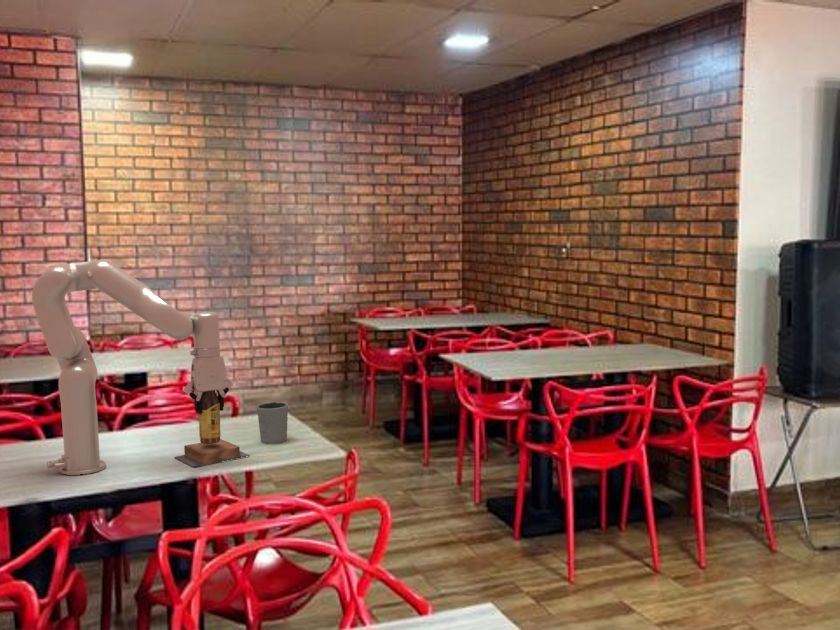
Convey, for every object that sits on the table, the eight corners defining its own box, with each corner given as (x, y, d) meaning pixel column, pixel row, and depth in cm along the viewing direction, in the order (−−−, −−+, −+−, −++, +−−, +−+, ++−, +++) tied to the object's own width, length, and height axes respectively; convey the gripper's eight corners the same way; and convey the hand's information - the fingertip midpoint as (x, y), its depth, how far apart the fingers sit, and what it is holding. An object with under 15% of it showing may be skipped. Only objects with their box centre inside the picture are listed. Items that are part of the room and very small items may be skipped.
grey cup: (291, 436, 275) (289, 401, 273) (287, 444, 265) (285, 407, 263) (260, 437, 274) (259, 402, 273) (255, 445, 264) (254, 408, 263)
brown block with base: (193, 468, 240) (193, 456, 239) (174, 458, 250) (174, 447, 250) (249, 456, 251) (249, 445, 250) (228, 447, 262) (228, 436, 261)
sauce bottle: (215, 445, 246) (212, 380, 244) (196, 444, 247) (193, 379, 245) (224, 439, 253) (222, 376, 250) (205, 438, 254) (203, 375, 252)
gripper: (185, 357, 239) (187, 418, 241) (239, 351, 250) (241, 409, 252) (174, 354, 245) (177, 413, 247) (228, 348, 256) (230, 405, 257)
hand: (209, 411), depth 249 cm, fingers closed on sauce bottle, 6 cm apart
